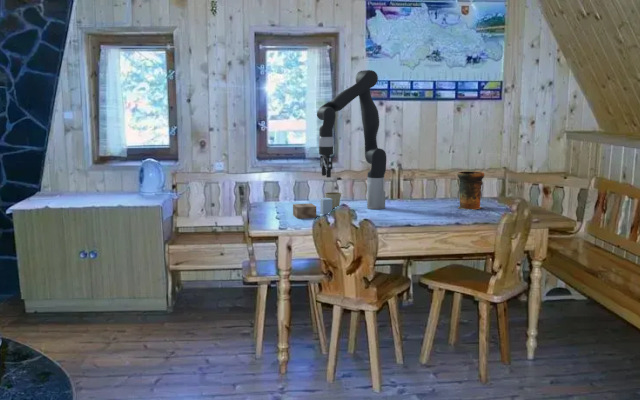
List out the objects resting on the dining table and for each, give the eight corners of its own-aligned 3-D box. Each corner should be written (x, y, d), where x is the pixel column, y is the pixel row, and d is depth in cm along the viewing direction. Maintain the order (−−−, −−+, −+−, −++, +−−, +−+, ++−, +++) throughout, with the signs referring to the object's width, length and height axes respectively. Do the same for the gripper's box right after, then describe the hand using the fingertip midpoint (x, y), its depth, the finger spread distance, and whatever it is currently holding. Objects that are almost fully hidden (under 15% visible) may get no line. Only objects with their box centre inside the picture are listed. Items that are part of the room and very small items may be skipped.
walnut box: (311, 214, 337) (311, 203, 336) (316, 218, 327) (316, 206, 326) (293, 215, 334) (292, 204, 333) (297, 219, 325) (297, 207, 324)
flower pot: (321, 209, 351) (321, 193, 349) (329, 206, 359) (329, 191, 358) (337, 210, 347) (337, 195, 345) (344, 208, 355) (344, 192, 353)
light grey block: (329, 212, 341) (329, 197, 340) (332, 214, 337) (332, 199, 335) (320, 213, 340) (320, 198, 339) (323, 214, 335) (323, 199, 334)
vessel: (477, 211, 344) (477, 174, 341) (452, 208, 353) (453, 172, 350) (487, 207, 355) (488, 171, 353) (463, 205, 364) (464, 170, 361)
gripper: (337, 146, 327) (337, 177, 329) (329, 144, 340) (329, 174, 343) (323, 146, 325) (323, 178, 327) (315, 144, 338) (315, 175, 341)
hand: (326, 176), depth 335 cm, fingers open, 8 cm apart
